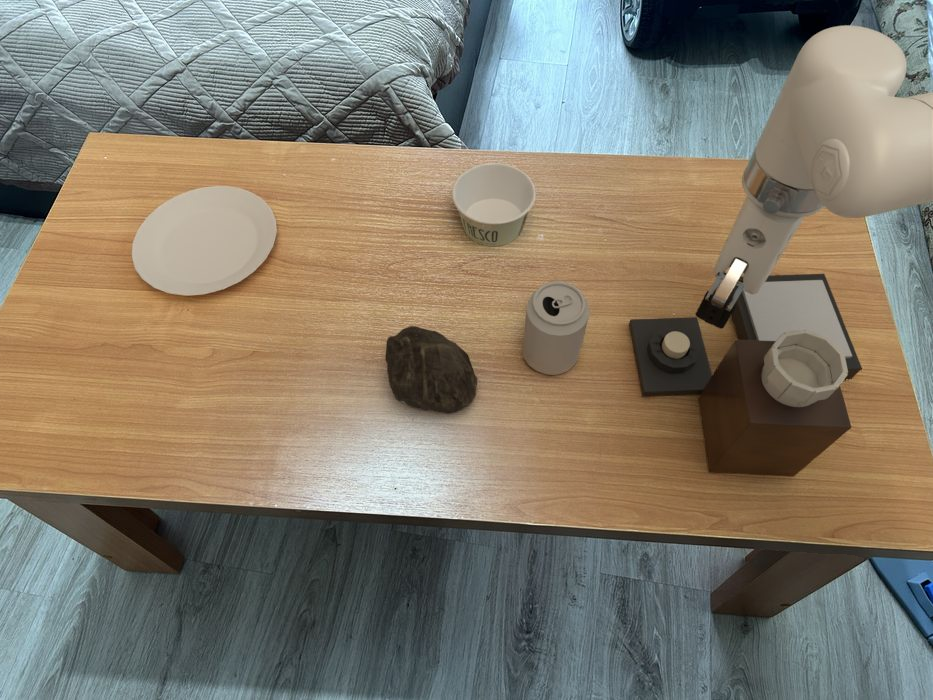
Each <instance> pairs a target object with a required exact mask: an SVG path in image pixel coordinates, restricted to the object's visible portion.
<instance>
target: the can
mask: <svg viewBox="0 0 933 700" xmlns="http://www.w3.org/2000/svg"><path fill="white" fill-rule="evenodd" d="M589 317H590V306H589V303H588V300H587V299H586V298H585V295H584V294H583V292H582V291H581V289H579V288H578V287H577V286H576V285H574V284H572V283H569V282H567V281H563V280H561V281H560V280H553V281H548V282H547V283H544V284H542V285H541V286H539V287H538V288H537V289H536V290H535V291H534V292H532V294H531V295H530V297H529V298H528V300H527V303H526V312H525V321H524V329H523V340H522V348H521V352H522V355H523V358H524V360H525V362H526V363H527V365H528V366H529V367H531V368H532V369H533V370H534V371H536V372H538V373H541V374H543V375H550V376H554V375H562V374H564V373H567V372H568V371H570V370H571V369H572V368H573V367H574V366H575V365H576V363H577V362H578V359H579V358H580V354H581V350H582V345H583V342H584V337H585V335H586V330H587V325H588V322H589Z"/></svg>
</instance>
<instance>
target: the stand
mask: <svg viewBox="0 0 933 700" xmlns="http://www.w3.org/2000/svg"><path fill="white" fill-rule="evenodd" d="M775 342H776V341H760V340H738V339H734V340H733V342H732V343H731V345H730V347H729V348H728V350H727V351H726V353H725V354H724V356H723V358H722V359H721V361H720V362H719V363H718V365H717V368H716V369H715V370H714V372H713V373H712V377H711V378H710V380H709V381H708V383H707V385H706V386H705V388H704V389H703V391H702V393H701V394H700V395H698V397H697V399H698V400H697V401H698V408H699V414H700V421H701V428H702V435H703V441H704V450H705V455H706V456H705V458H706V463H707V471H708V473H711V474H732V475H754V476H755V475H756V476H775V477H777V476H778V477H795V476H796V475H798V474H799V473H800V472H802V471H803V470H804V469H805V468H806V467H807V466H808V465H809V464H810V463H812V462H813V461H814V460H816V459H817V458H818V457H819V456H820V455H821V454H822V453H824V452H825V451H826V450H827V449H828V448H829V447H831V446H832V445H833V444H834V443H836V441H837V440H839V439H840V438H842V437H843V435H845V434H846V433H847V432H848V431H849V430H850V429H852V424H851V420H850V417H849V412H848V409H847V407H846V402H845V398H844V393H843V390H842V388H841V385H840V386H839V387H838V388H837V389H836V390H835V391H834V392H833V393H832V394H831V395H830V396H829V397H828V398H827V399H824V400H818V401H816V402H815V403H813V404H811V405H808V406H805V407H791V406H787V405H785V404H782V403H780V402H778V401H777V400H775V399H774V398H773V397H772V396H771V395H770V394H769V393H768V392H767V391H766V389H765V387H764V385H763V383H762V377H761V375H762V369H763V366H764V365H765V364H764V358H765V357H764V356H765V355H766V354H767V352H768V351H769V350H770V348H771V347H772V346H773V344H774V343H775ZM794 345H797V344H794ZM789 346H791V345H789ZM798 346H800V345H798ZM783 347H786V346H783ZM801 347H803V346H801ZM779 348H780V347H778V349H779ZM804 348H806V347H804ZM807 349H809V348H807ZM810 350H811V349H810ZM813 351H814V350H813ZM815 352H816V351H814V353H815ZM816 353H817V352H816ZM817 354H818V353H817ZM818 355H819V354H818ZM819 356H820V355H819ZM820 357H821V356H820ZM821 358H822V357H821ZM822 359H823V358H822ZM823 360H824V359H823ZM824 361H825V360H824ZM825 362H826V361H825ZM826 363H827V362H826ZM827 364H828V363H827ZM828 366H829V367H830V365H829V364H828ZM830 373H831V370H830ZM831 378H832V375H831ZM832 382H833V381H832ZM832 382H831V384H832Z"/></svg>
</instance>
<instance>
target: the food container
mask: <svg viewBox="0 0 933 700" xmlns="http://www.w3.org/2000/svg"><path fill="white" fill-rule="evenodd" d="M451 190H452V191H451V197H452V198H451V199H452V201H453V204H454V206H455V208H456V209H457V210H458V214H459V217H460V220H461V224H462V227H463V230H464V232H465V235H466V236H467V237H468V238H469V239H471V240H472V241H473V242H475V243H477V244H478V245H481V246H487V247H499V246H504V245H508V244H510V243H511V242H514V241H515V240H516V239H518V237H519V236H520V235H521V233H523V228H524V227H525V223H526V221H527V218H528V215H529V213H530V211H531V209H532V207H533V206H534V204H535V201H536V199H537V198H536V197H537V190H536V186H535V184H534V181H533V180H532V178H531V177H530V176H529V175H528V174H527V173H526V172H525V171H523V170H522V169H520V168H518V167H516V166H514V165H512V164H507V163H502V162H485V163H481V164H477V165H473V166H471V167H470V168H468V169H466V170H465V171H463V172H462V173H460V175H458V176H457V178H456V179H455V182H454V183H453V186H452V189H451Z"/></svg>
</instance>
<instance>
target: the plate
mask: <svg viewBox="0 0 933 700" xmlns="http://www.w3.org/2000/svg"><path fill="white" fill-rule="evenodd" d="M277 229H278V228H277V219H276V216H275V214H274V212H273V210H272V208H271V206H270V205H269V204H268V203H267V202H266V201H265V200H264V199H263V198H262V197H260V196H259V195H257V194H255V193H254V192H252V191H249V190H247V189H243V188H241V187H238V186H228V185H212V186H203V187H199V188H194V189H191V190H187V191H185V192H183V193H180V194H178V195H175V196H172V197H171V198H169V199H168V200H166V201H165V202H163V203H162V204H160V205H158V206H157V207H156V208H155V209H154V210H153V211H152V212H151V213H149V215H147V216H146V217H145V219H144V220H143V221H142V223H141V224H140V226H139V227H138V229H137V230H136V233H135V236H134V237H133V241H132V245H131V246H132V247H131V260H132V263H133V267H134V269H135V271H136V273H137V274H138V275H139V277H140V278H141V279H142V281H144V282H145V283H147V284H148V285H149V286H150V287H152V288H154V289H156V290H158V291H161V292H164V293H166V294H168V295H176V296H177V295H178V296H184V297H189V296H200V295H201V296H202V295H209V294H211V293H216V292H219V291H223V290H225V289H227V288H229V287H232V286H234V285H236V284H238V283H240V282H241V281H243V280H244V279H246V278H248V277H249V276H251V274H253V273H254V272H256V271H257V269H258V268H259V267H260V266H261V265H263V263H264V262H265V261H266V260H267V258H268V256H269V255H270V253H271V251H272V249H273V248H274V245H275V242H276V237H277V233H278V231H277Z"/></svg>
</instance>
